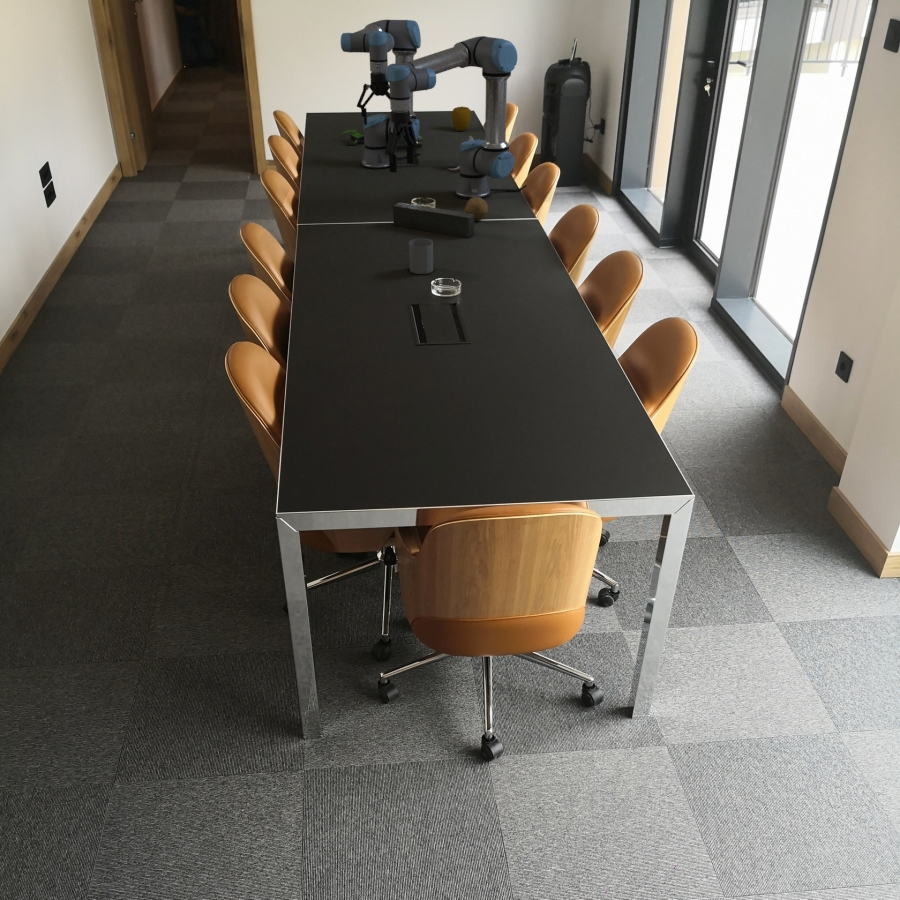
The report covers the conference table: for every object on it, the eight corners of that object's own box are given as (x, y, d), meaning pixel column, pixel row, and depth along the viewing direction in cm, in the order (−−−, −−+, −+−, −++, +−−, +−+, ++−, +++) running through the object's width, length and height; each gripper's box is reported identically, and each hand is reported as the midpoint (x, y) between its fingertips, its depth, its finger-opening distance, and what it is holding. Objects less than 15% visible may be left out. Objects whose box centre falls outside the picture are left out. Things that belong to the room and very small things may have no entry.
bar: (473, 234, 341) (474, 214, 337) (468, 237, 337) (468, 217, 333) (399, 222, 354) (398, 202, 349) (393, 225, 350) (392, 205, 346)
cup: (409, 265, 311) (408, 238, 306) (432, 265, 312) (431, 238, 307) (410, 274, 304) (409, 246, 299) (433, 273, 305) (433, 246, 299)
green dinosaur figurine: (396, 126, 467) (340, 124, 465) (396, 141, 460) (339, 139, 458) (396, 136, 472) (341, 134, 470) (396, 151, 465) (340, 149, 463)
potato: (486, 212, 363) (486, 193, 359) (489, 223, 352) (490, 203, 347) (463, 213, 363) (463, 194, 359) (465, 223, 351) (466, 204, 347)
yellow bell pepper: (471, 132, 486) (471, 108, 479) (451, 132, 486) (451, 108, 479) (470, 128, 495) (471, 104, 488) (452, 128, 495) (452, 104, 488)
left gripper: (348, 73, 362) (351, 126, 374) (407, 74, 361) (408, 127, 372) (351, 70, 368) (354, 122, 380) (409, 71, 367) (410, 123, 378)
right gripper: (407, 103, 338) (409, 159, 349) (374, 115, 319) (377, 174, 330) (424, 105, 335) (425, 161, 346) (392, 117, 316) (394, 176, 327)
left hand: (381, 124), depth 376 cm, fingers open, 13 cm apart
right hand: (401, 167), depth 338 cm, fingers open, 13 cm apart
